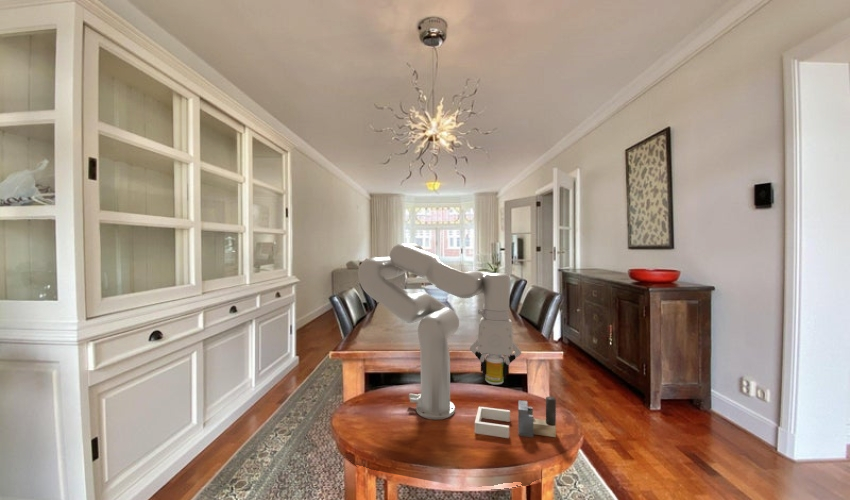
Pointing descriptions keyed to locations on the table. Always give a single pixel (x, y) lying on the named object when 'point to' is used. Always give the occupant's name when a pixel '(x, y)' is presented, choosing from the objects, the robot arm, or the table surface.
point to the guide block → (525, 419)
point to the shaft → (547, 420)
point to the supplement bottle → (494, 369)
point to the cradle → (490, 427)
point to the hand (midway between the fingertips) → (494, 374)
